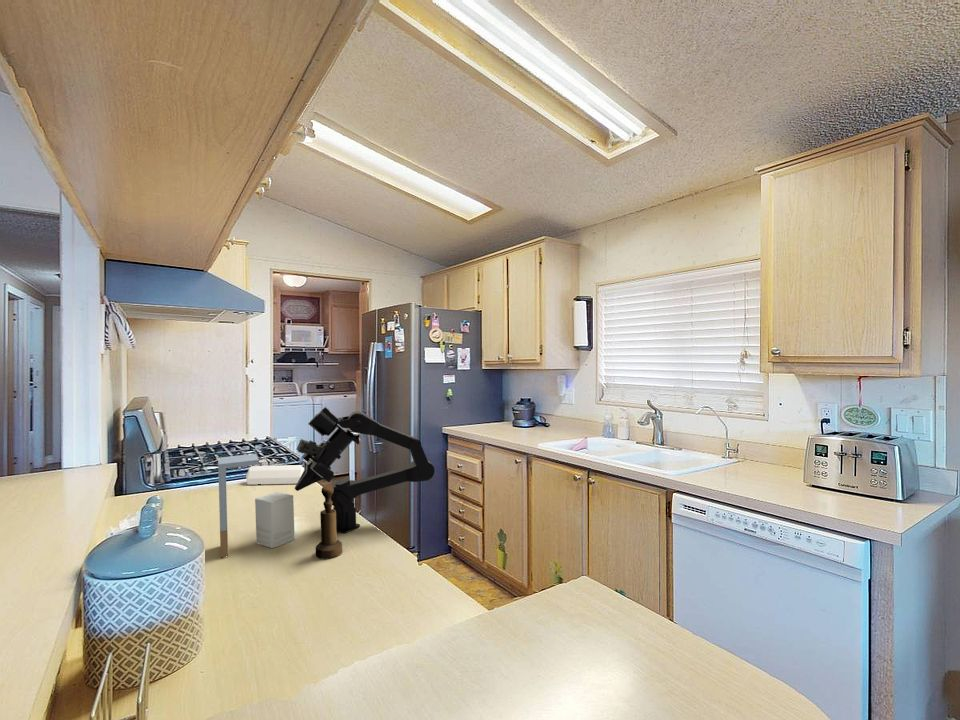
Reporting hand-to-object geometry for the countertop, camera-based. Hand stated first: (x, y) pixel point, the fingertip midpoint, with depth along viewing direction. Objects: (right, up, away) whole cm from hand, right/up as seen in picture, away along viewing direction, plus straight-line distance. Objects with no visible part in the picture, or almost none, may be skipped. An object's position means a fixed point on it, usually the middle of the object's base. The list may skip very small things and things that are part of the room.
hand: (295, 489), depth 136 cm
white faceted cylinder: (-30, -13, +59) cm, 67 cm away
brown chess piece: (+13, -14, -11) cm, 22 cm away
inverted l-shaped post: (-12, -14, -7) cm, 20 cm away
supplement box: (-5, -14, -3) cm, 15 cm away
